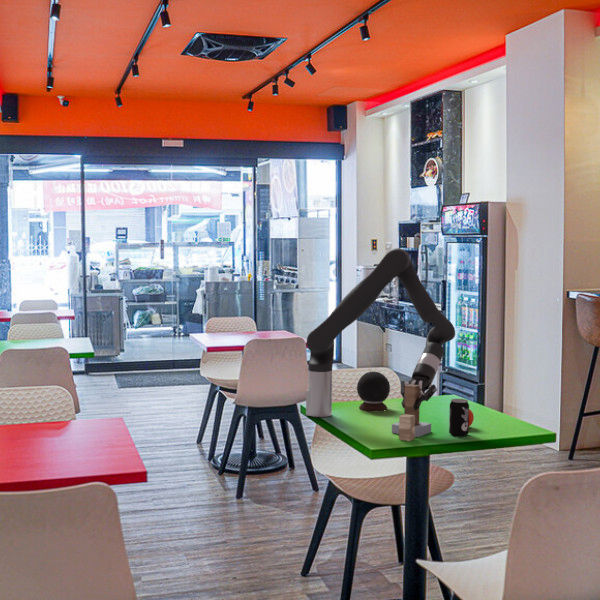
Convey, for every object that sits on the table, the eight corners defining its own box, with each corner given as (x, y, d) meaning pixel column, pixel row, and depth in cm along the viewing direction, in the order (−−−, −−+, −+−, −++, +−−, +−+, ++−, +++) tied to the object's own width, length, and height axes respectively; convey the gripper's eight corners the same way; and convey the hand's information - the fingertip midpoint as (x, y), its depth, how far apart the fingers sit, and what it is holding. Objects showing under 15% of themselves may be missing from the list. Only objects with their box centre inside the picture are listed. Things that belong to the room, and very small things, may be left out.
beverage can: (457, 437, 269) (457, 402, 268) (445, 433, 275) (445, 399, 274) (472, 435, 272) (473, 401, 271) (460, 431, 278) (460, 397, 277)
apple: (476, 430, 281) (476, 407, 280) (453, 430, 280) (454, 407, 280) (469, 425, 289) (470, 403, 288) (447, 425, 288) (448, 403, 288)
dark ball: (385, 405, 325) (385, 369, 324) (393, 411, 312) (394, 374, 311) (353, 405, 323) (354, 369, 322) (360, 412, 310) (361, 374, 309)
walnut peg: (413, 427, 273) (414, 386, 272) (404, 425, 275) (404, 385, 274) (419, 425, 276) (419, 385, 275) (409, 423, 278) (410, 384, 277)
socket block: (417, 437, 269) (417, 428, 269) (391, 432, 275) (391, 424, 275) (431, 432, 277) (431, 423, 277) (405, 428, 283) (405, 419, 283)
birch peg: (408, 441, 263) (409, 417, 263) (398, 439, 265) (399, 415, 265) (414, 439, 266) (414, 415, 266) (404, 437, 268) (404, 414, 268)
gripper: (405, 360, 285) (387, 399, 276) (441, 364, 276) (424, 403, 267) (412, 373, 289) (395, 411, 280) (447, 377, 281) (431, 416, 272)
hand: (409, 407), depth 274 cm, fingers closed on walnut peg, 3 cm apart
